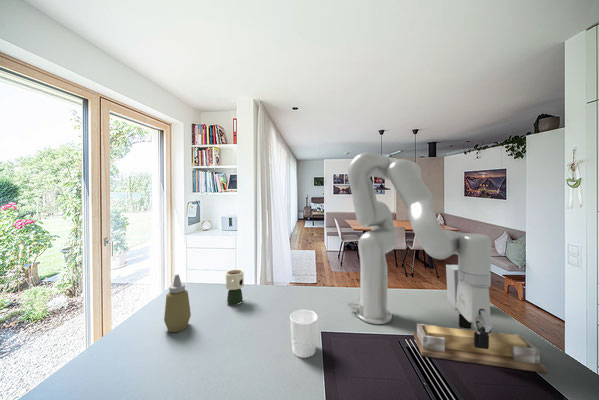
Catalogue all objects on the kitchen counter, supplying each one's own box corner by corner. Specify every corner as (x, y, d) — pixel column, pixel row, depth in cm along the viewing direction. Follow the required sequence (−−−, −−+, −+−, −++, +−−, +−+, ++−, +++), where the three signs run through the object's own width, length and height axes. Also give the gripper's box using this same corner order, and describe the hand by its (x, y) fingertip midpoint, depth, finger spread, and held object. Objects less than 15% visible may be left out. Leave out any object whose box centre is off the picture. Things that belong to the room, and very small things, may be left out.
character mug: (242, 308, 95) (241, 276, 95) (223, 309, 94) (223, 276, 94) (245, 297, 106) (245, 267, 105) (228, 297, 105) (228, 268, 105)
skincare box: (473, 311, 93) (474, 270, 92) (453, 309, 94) (453, 269, 94) (463, 301, 101) (464, 264, 101) (444, 300, 102) (445, 263, 102)
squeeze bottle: (196, 324, 84) (195, 273, 83) (175, 337, 76) (174, 280, 76) (179, 319, 87) (179, 269, 87) (158, 331, 80) (157, 277, 79)
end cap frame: (421, 355, 68) (421, 339, 67) (413, 335, 77) (413, 320, 77) (546, 373, 61) (547, 354, 61) (520, 348, 71) (520, 332, 71)
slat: (428, 346, 70) (428, 332, 70) (424, 338, 74) (424, 325, 74) (526, 358, 64) (527, 344, 64) (517, 349, 68) (517, 335, 68)
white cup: (309, 363, 65) (309, 326, 64) (284, 353, 69) (284, 318, 68) (322, 347, 71) (322, 314, 71) (299, 339, 75) (299, 307, 75)
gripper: (447, 267, 78) (446, 320, 78) (473, 288, 61) (471, 355, 61) (474, 269, 76) (473, 322, 77) (507, 290, 59) (506, 359, 60)
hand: (472, 337), depth 69 cm, fingers open, 9 cm apart
